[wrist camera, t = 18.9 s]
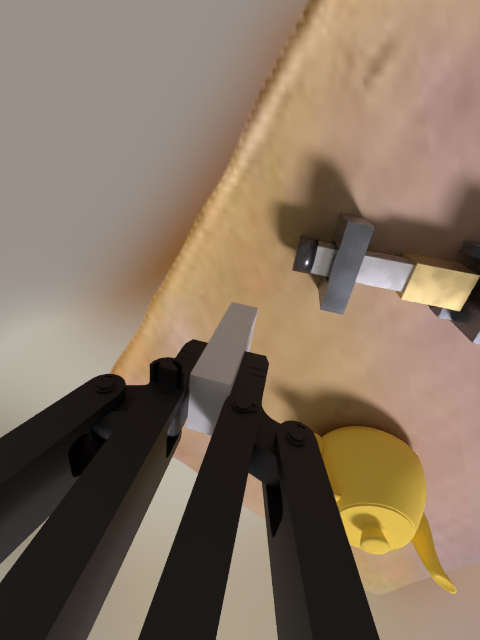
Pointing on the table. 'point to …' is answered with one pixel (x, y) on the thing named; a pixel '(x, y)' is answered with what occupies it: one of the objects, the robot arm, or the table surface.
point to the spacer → (438, 282)
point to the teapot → (380, 493)
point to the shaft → (372, 271)
